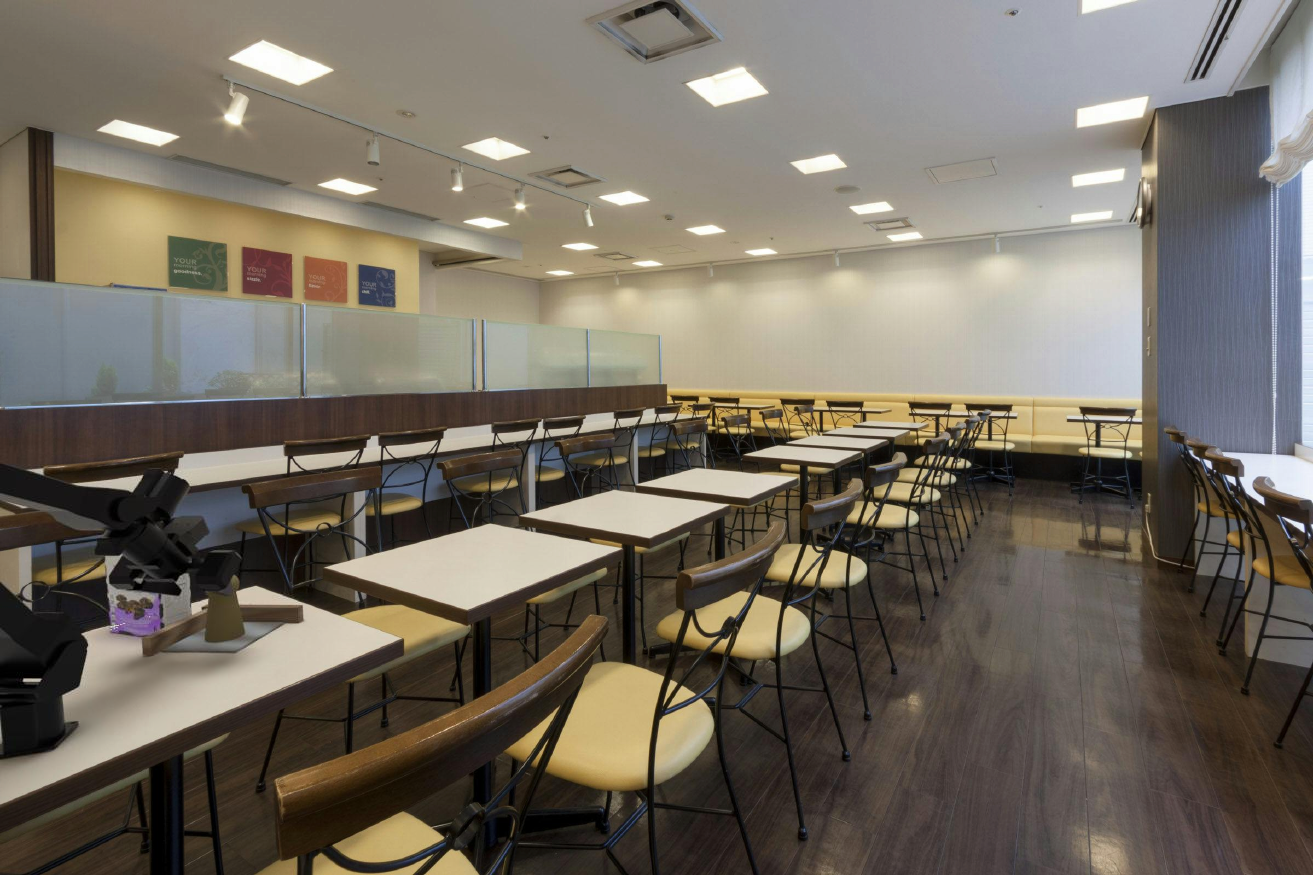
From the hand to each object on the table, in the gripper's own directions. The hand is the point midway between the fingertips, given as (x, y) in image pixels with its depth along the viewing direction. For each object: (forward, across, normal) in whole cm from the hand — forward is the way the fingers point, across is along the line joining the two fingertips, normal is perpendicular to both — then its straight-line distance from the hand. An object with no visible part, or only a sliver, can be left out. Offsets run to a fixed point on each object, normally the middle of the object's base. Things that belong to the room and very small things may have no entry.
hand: (205, 593), depth 109 cm
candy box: (+12, +16, +2) cm, 20 cm away
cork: (+9, 0, +4) cm, 10 cm away
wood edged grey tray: (+10, 0, +4) cm, 10 cm away
